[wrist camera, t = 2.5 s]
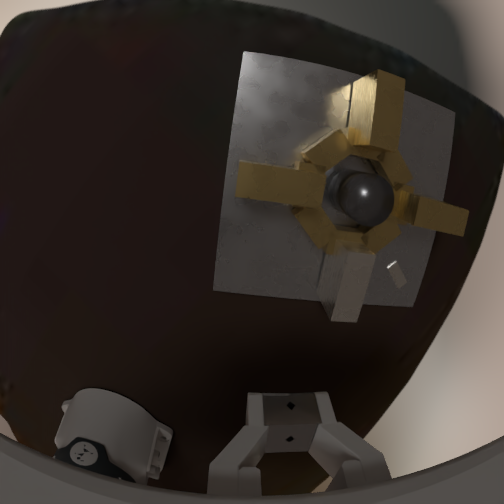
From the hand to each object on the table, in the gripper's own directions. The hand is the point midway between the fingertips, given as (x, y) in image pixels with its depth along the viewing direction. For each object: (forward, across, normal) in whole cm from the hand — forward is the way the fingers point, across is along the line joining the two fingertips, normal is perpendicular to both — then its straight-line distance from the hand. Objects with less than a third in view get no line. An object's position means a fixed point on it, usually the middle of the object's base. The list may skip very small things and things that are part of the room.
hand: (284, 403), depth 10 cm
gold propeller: (+18, -7, -6) cm, 20 cm away
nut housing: (+20, -7, -6) cm, 22 cm away
